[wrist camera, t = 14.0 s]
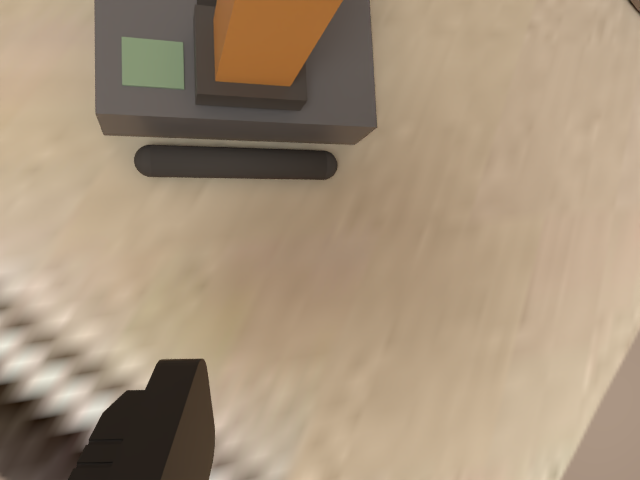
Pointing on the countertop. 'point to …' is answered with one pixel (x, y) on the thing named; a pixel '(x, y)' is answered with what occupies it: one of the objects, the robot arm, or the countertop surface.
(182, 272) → the countertop surface
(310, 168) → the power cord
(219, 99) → the handle
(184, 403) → the robot arm
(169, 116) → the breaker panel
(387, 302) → the countertop surface
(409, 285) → the countertop surface
